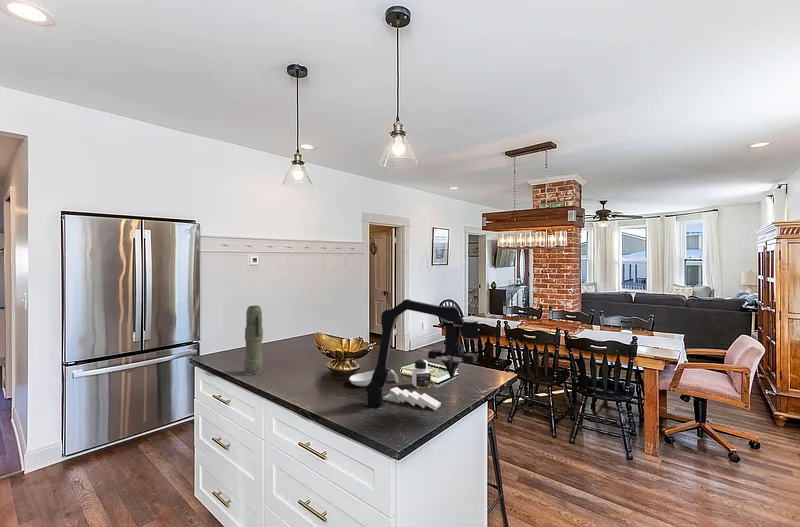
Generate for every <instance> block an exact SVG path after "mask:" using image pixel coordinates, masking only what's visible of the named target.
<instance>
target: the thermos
mask: <svg viewBox="0 0 800 527" xmlns="http://www.w3.org/2000/svg"><path fill="white" fill-rule="evenodd" d="M245 314H246V316H245V317H246V321H245V322H246V323H245V324H246V326H245V329H244V340H245V358H244V366H243V367H244V374H245V373H246V374H257V373H261V372H262V373H263V367H264V364H263V363H264V362H263V355H262V353H263V350H262V349H263V344H262V343H263V339H264V338H263V336H264V328H263V318H262V317H263V316H262V315H263V311H262V308H261V306H260V305H250V306H247V310H246V313H245ZM262 373H261V374H262Z"/></svg>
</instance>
